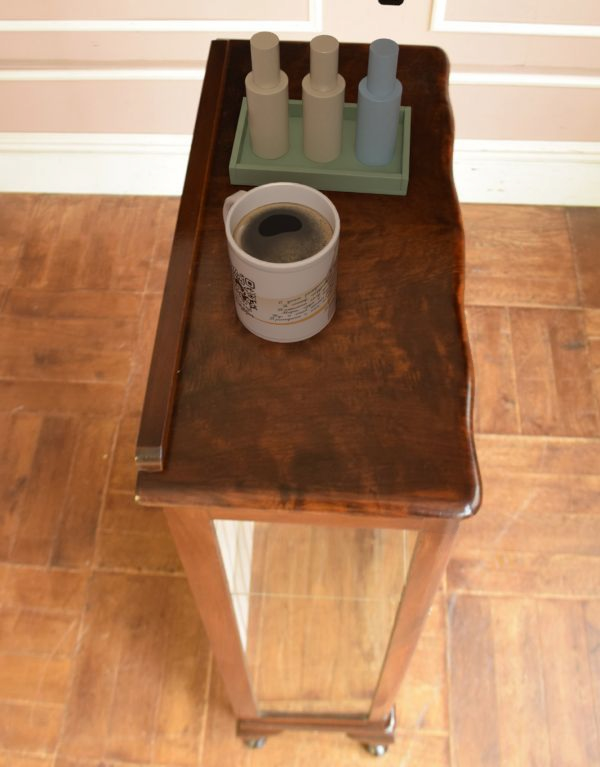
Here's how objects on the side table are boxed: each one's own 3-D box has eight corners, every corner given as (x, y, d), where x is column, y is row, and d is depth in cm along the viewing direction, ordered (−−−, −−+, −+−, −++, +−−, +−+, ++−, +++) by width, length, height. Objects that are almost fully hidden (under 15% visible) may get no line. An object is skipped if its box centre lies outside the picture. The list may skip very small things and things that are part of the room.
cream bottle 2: (343, 136, 87) (348, 30, 75) (340, 164, 84) (345, 58, 73) (304, 134, 87) (303, 28, 76) (300, 161, 85) (299, 56, 73)
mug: (227, 345, 73) (215, 268, 63) (228, 248, 79) (217, 165, 69) (339, 341, 73) (344, 264, 63) (331, 245, 79) (334, 161, 70)
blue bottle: (395, 140, 86) (407, 34, 75) (393, 168, 84) (406, 62, 73) (355, 138, 86) (362, 31, 75) (353, 165, 84) (359, 60, 73)
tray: (408, 123, 88) (411, 106, 86) (406, 195, 83) (408, 179, 80) (244, 114, 90) (243, 96, 88) (230, 184, 84) (228, 167, 82)
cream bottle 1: (291, 133, 87) (289, 27, 76) (287, 160, 85) (284, 55, 74) (252, 131, 87) (245, 25, 76) (247, 158, 85) (238, 53, 74)
